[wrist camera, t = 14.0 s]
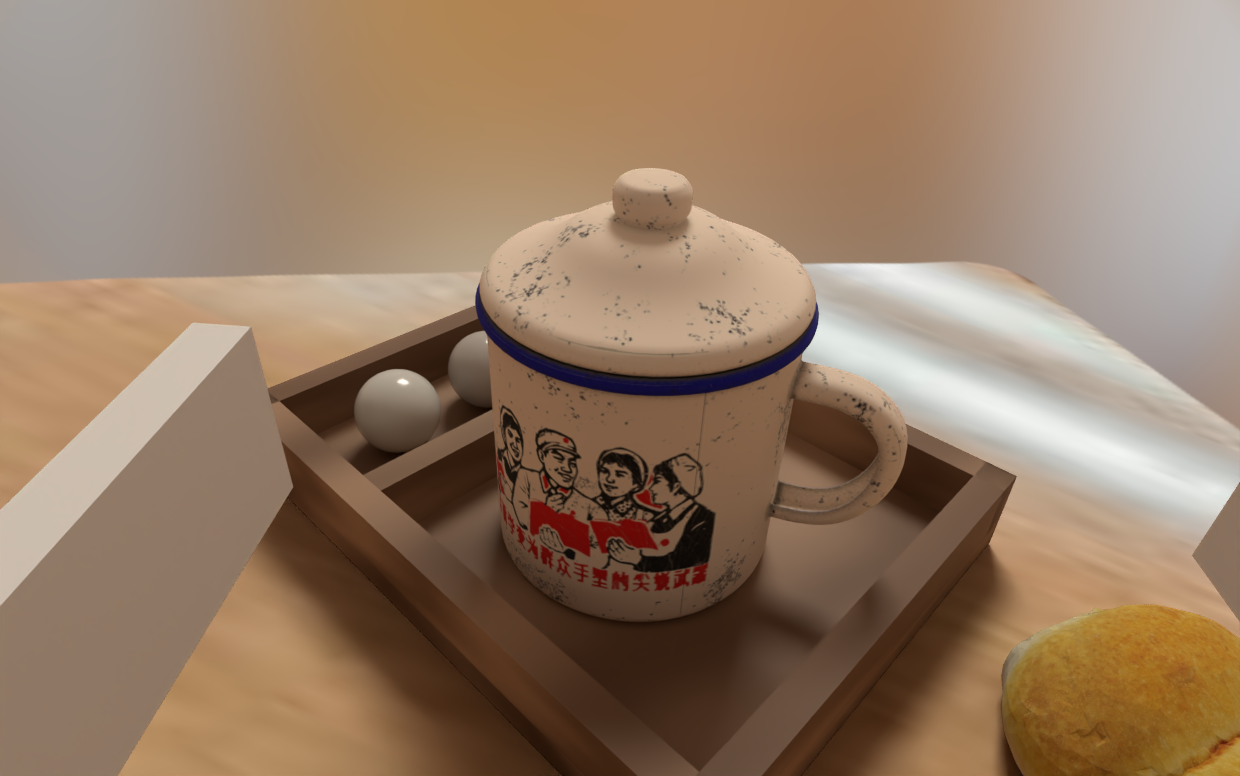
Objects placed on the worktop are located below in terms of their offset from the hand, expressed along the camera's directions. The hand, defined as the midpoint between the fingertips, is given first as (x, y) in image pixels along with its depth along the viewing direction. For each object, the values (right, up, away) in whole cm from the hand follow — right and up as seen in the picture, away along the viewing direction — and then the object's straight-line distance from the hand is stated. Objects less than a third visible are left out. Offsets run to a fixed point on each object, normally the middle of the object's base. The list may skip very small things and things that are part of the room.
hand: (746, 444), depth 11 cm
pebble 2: (-7, 0, +21) cm, 22 cm away
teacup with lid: (0, -4, +15) cm, 16 cm away
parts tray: (-2, -3, +18) cm, 18 cm away
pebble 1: (-10, -1, +18) cm, 21 cm away
